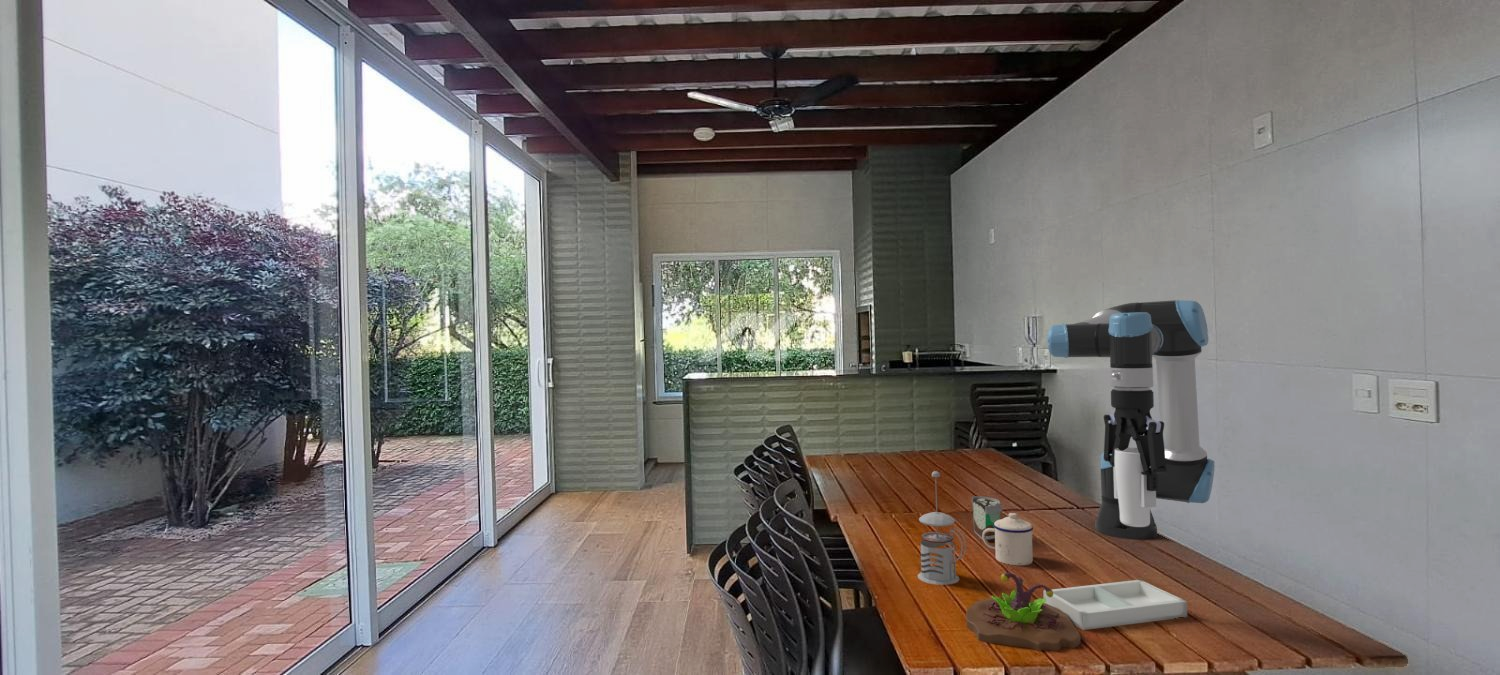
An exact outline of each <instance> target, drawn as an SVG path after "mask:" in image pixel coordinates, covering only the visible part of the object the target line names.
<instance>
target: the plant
mask: <svg viewBox="0 0 1500 675" xmlns="http://www.w3.org/2000/svg"><path fill="white" fill-rule="evenodd" d="M1010 578H1013V579H1014V582H1015V585H1016V587H1015V588H1016V589H1014V590H1012V591H1011V593H1010V596H1009V594H1006V593H1004V592H1002V593H1001V595H1002V597H1001V596H997V595H991V598H986V599H979V600H977V601H976V602H974V603H973V604H971V605H970V606H968V608H967V609H966V613H965V618H966V620H965V622H966V629H969V630H970V631H972V632H973V633H974V635H975V636H976V637H977V640H978V641H980V642H983V643H984V642H985V643H987V644H988V643H989V644H997V645H1003V646H1004V645H1005V646H1008V647H1015V648H1016V647H1017V648H1018V647H1019V648H1028V649H1031V650H1034V651H1037V652H1041V651H1052V652H1057V651H1060V650H1061V648H1062V649H1063V648H1069V649H1076V648H1077V647H1079V646H1080V644H1081V633H1080V631H1079V630H1078V629H1077V627H1076V625H1074V624H1073V623H1072V622H1071V620H1070V619H1069V617H1068V614H1066V613H1064V612H1063V611H1061V610H1060V609H1058V608H1056V607H1053V606H1051V605H1048V604H1046V603H1044V602H1045V601H1046V599H1045V598H1044V597H1042V598H1037V599H1034V600H1033V601H1031V598H1032V596H1033V593H1034V592H1035V591H1036V590H1037V589H1042V588H1043V589H1044V590H1046V594H1047V596H1048V597H1050V598H1051V597H1052V596H1053V591H1052V589H1051V588H1049V587H1048V586H1046V585H1044V584H1035V585H1032V586H1030V587H1029V588H1028V589H1027V590H1026V591H1024V587H1023V585H1024V579H1022V577H1020V576H1019V577H1018V576H1017V575H1015V574H1014V573H1012V572H1004V573H1002V574H1001V575H1000V580H1001V582H1008V581H1009V580H1010ZM1078 645H1079V646H1078ZM1076 646H1077V647H1076ZM1075 647H1076V648H1075Z"/></svg>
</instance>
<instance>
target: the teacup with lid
mask: <svg viewBox="0 0 1500 675" xmlns="http://www.w3.org/2000/svg"><path fill="white" fill-rule="evenodd" d="M994 527H995V529H993V528H988V529H985V530H984V531H983V533H982V538H983V540H982V541H983V542H984V544H985V545H986V547H988V548H990V549H994V550H995V559H996V561H998V562H999V563H1001V562H1002V564H1004V563H1005V565H1008V564H1009V566H1017V567H1018V566H1028V565H1031V564H1032V563H1033V560H1034V559H1033V530H1034V528H1033V525H1032V524H1031V523H1030V522H1028V521H1026V520H1023V519H1022V518H1020V517H1018V514H1017V513H1015V512H1009V513H1008V516H1006V517H1003V518H1000V519H999V520H997V521H995V523H994ZM986 532H995V541H994V544H991V543H990V542H988V541H987V540H986V537H985V534H986Z"/></svg>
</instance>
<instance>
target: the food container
mask: <svg viewBox="0 0 1500 675" xmlns="http://www.w3.org/2000/svg"><path fill="white" fill-rule="evenodd" d="M971 504H972V513H973V514H972V515H973V516H972V518H973V532H974V533H975V534H976V535H977V536H978V537H979V538H980V539H981V540H982V541H983V538H982V533H983V531H984V530H985V529H988V528H993V529H995V527H994V523H995V521H997V520H1000V519H1001V518H1000V516H1001V512H1003V507H1002V504H1001V502H1000V500H999V499H997V498H993V497H988V496H981V495H980V496H978V495H977V496H975V495H974V496H973V495H972V496H971ZM985 537H986V540H987V541H988V543H990V542H995V532H986V534H985Z"/></svg>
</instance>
